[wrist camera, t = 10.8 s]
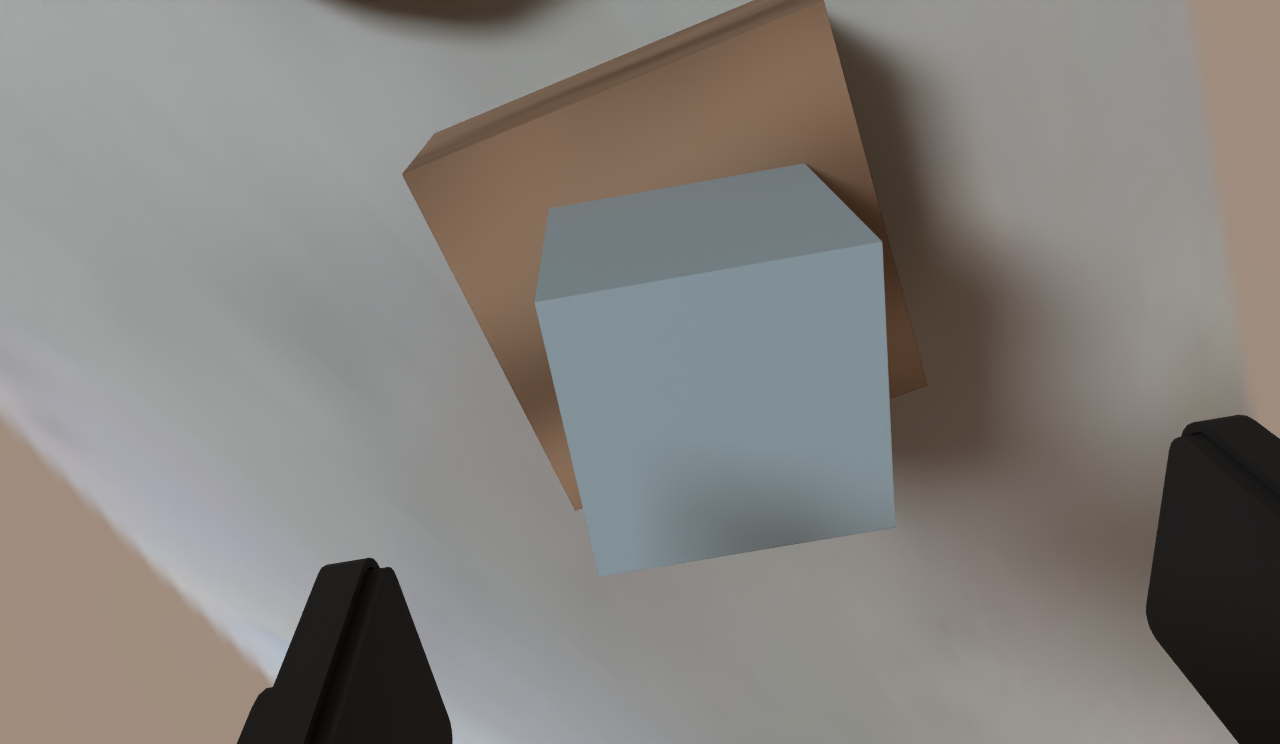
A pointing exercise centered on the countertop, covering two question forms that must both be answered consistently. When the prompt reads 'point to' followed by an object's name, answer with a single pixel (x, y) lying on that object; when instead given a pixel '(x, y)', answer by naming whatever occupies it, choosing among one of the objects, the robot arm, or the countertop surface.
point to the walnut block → (643, 169)
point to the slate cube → (719, 367)
